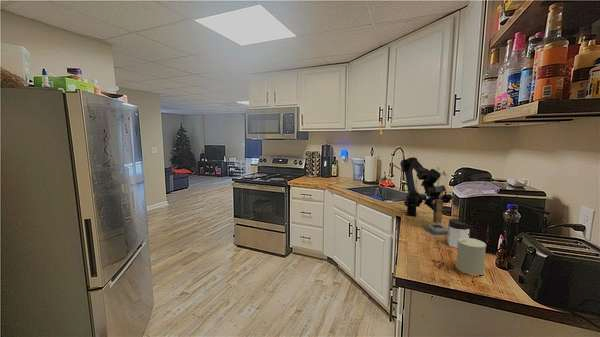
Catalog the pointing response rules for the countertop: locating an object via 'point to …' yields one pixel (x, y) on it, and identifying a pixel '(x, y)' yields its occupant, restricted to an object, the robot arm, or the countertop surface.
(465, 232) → the jar
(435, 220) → the walnut stick
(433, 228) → the square frame on plate
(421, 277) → the countertop surface
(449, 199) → the robot arm
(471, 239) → the can
